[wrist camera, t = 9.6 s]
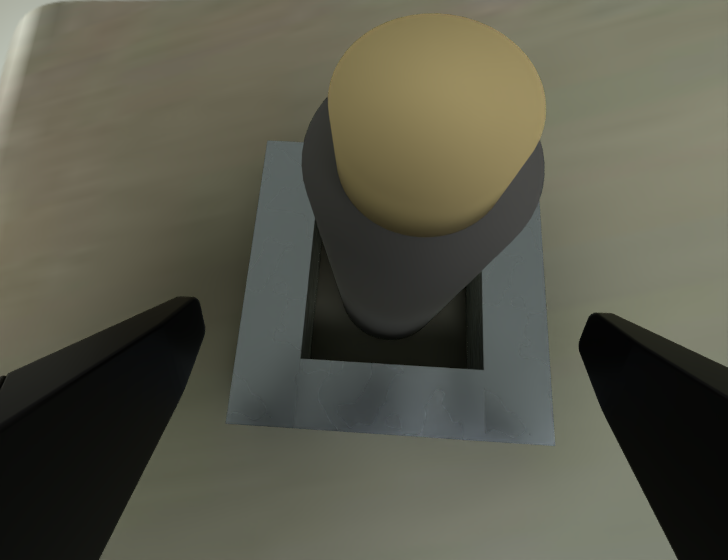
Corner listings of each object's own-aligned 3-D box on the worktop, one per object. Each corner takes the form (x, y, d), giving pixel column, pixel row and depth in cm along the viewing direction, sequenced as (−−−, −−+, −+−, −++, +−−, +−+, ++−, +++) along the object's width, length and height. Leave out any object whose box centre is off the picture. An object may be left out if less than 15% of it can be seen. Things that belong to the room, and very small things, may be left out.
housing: (526, 436, 16) (555, 445, 13) (246, 417, 16) (225, 423, 14) (514, 182, 19) (536, 153, 17) (279, 170, 19) (267, 140, 17)
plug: (437, 342, 17) (606, 251, 5) (338, 336, 17) (265, 232, 5) (438, 249, 18) (577, -13, 6) (345, 244, 18) (301, -23, 6)
